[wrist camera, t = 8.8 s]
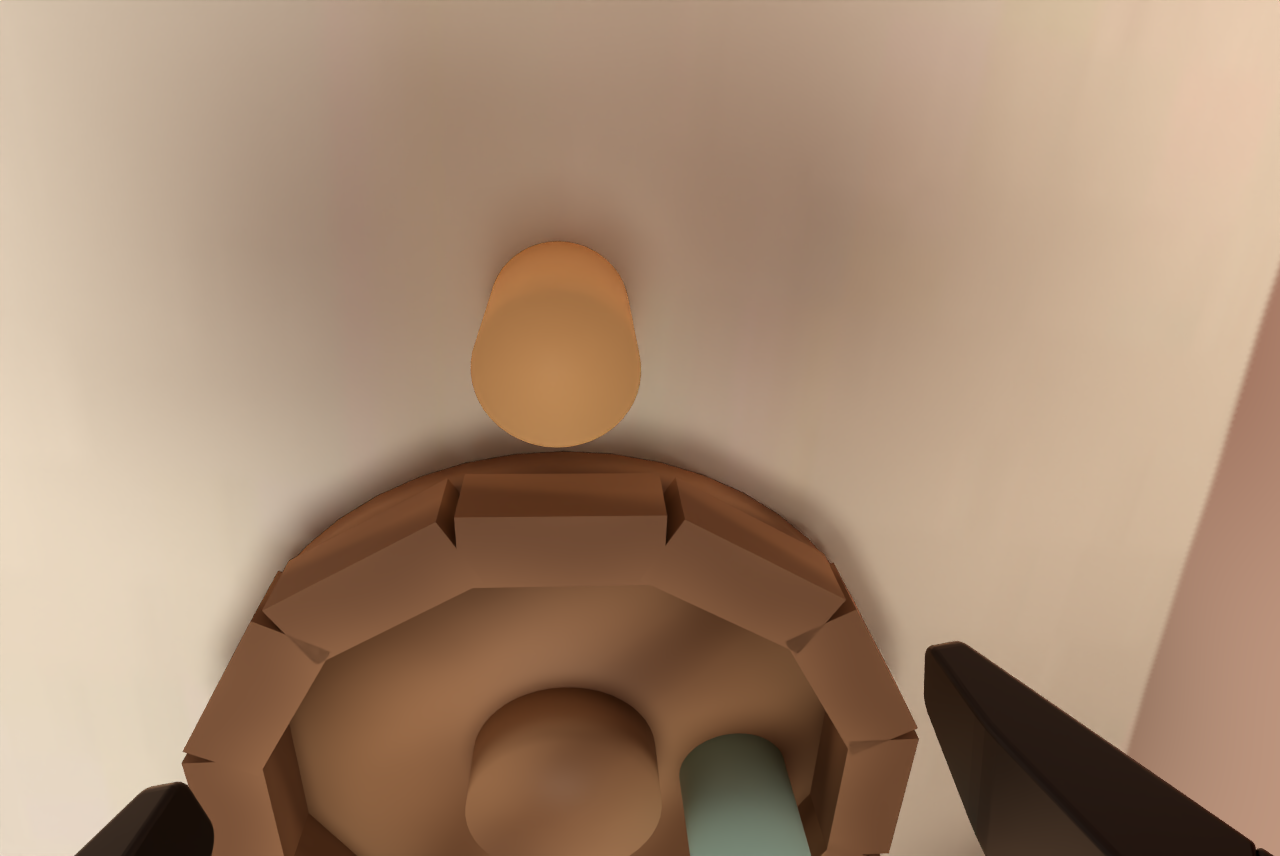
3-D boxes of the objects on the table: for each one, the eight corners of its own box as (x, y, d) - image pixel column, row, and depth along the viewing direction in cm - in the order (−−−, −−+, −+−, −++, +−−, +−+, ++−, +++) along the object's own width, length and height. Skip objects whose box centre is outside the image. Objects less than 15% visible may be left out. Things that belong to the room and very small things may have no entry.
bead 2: (693, 728, 25) (713, 847, 21) (797, 738, 25) (834, 857, 22) (668, 803, 26) (683, 927, 22) (767, 812, 27) (797, 934, 23)
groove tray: (999, 627, 25) (1053, 703, 22) (659, 970, 32) (667, 1062, 29) (410, 318, 19) (382, 368, 16) (149, 819, 26) (96, 915, 23)
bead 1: (655, 286, 20) (673, 343, 16) (584, 396, 21) (587, 472, 17) (531, 213, 19) (521, 257, 15) (465, 333, 20) (441, 400, 16)
